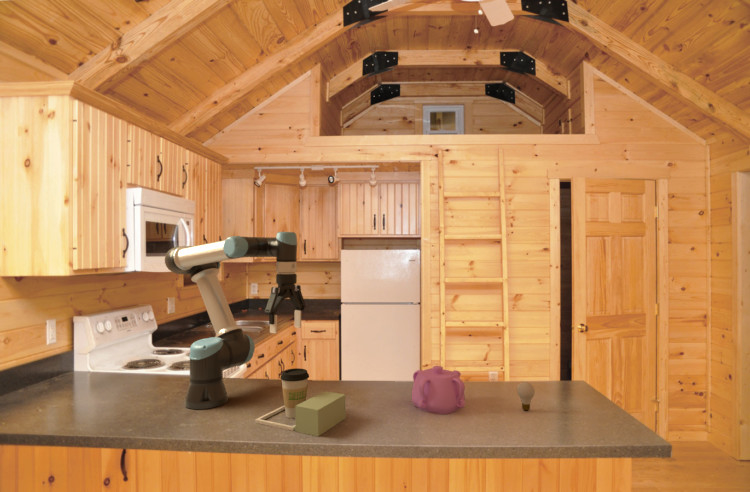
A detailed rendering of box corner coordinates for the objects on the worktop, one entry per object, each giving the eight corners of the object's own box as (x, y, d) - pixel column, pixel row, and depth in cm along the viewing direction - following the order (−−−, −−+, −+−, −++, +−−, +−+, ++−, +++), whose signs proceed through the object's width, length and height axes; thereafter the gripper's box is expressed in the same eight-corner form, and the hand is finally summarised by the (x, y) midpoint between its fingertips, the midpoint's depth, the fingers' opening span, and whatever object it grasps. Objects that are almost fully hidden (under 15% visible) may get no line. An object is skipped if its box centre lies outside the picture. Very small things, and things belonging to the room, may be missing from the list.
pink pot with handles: (412, 415, 153) (412, 373, 153) (411, 395, 174) (410, 358, 174) (468, 416, 152) (468, 374, 152) (460, 396, 173) (460, 359, 173)
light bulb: (534, 408, 158) (534, 380, 158) (535, 414, 152) (534, 385, 153) (517, 407, 160) (517, 379, 160) (517, 412, 154) (516, 383, 154)
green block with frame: (255, 422, 147) (254, 398, 147) (286, 407, 162) (286, 384, 162) (318, 436, 136) (317, 410, 136) (345, 418, 150) (345, 394, 150)
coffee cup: (303, 421, 148) (303, 376, 148) (275, 419, 150) (275, 374, 150) (313, 410, 157) (313, 368, 157) (287, 409, 159) (287, 367, 159)
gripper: (270, 275, 153) (270, 336, 153) (314, 272, 175) (314, 326, 174) (254, 274, 157) (254, 334, 156) (299, 271, 178) (299, 324, 178)
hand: (286, 330), depth 165 cm, fingers open, 13 cm apart
